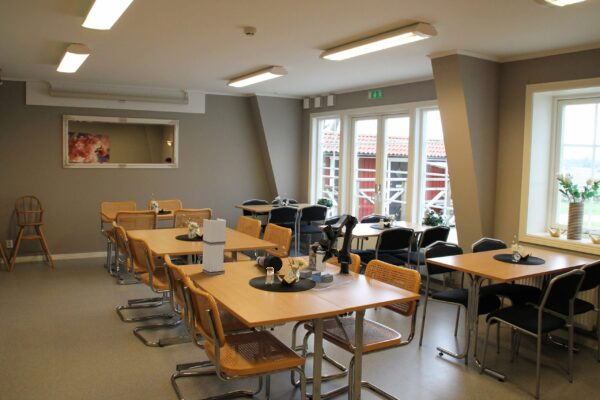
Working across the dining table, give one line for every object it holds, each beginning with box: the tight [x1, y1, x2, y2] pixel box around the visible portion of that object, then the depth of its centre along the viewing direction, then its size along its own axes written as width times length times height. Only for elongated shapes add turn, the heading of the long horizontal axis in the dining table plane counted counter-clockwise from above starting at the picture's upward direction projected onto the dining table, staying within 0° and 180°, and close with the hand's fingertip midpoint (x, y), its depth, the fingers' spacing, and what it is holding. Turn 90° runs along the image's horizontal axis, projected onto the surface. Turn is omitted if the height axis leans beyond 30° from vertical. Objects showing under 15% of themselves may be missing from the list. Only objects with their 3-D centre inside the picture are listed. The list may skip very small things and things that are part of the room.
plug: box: [315, 251, 326, 272], centre depth 320 cm, size 4×4×12 cm
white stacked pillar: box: [202, 218, 227, 276], centre depth 334 cm, size 11×11×35 cm
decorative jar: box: [308, 241, 327, 270], centre depth 363 cm, size 12×12×18 cm
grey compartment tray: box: [299, 269, 334, 284], centre depth 322 cm, size 20×9×5 cm, turn 53°
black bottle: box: [255, 255, 284, 273], centre depth 356 cm, size 10×34×10 cm, turn 23°
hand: (319, 261), depth 319 cm, fingers closed on plug, 4 cm apart
